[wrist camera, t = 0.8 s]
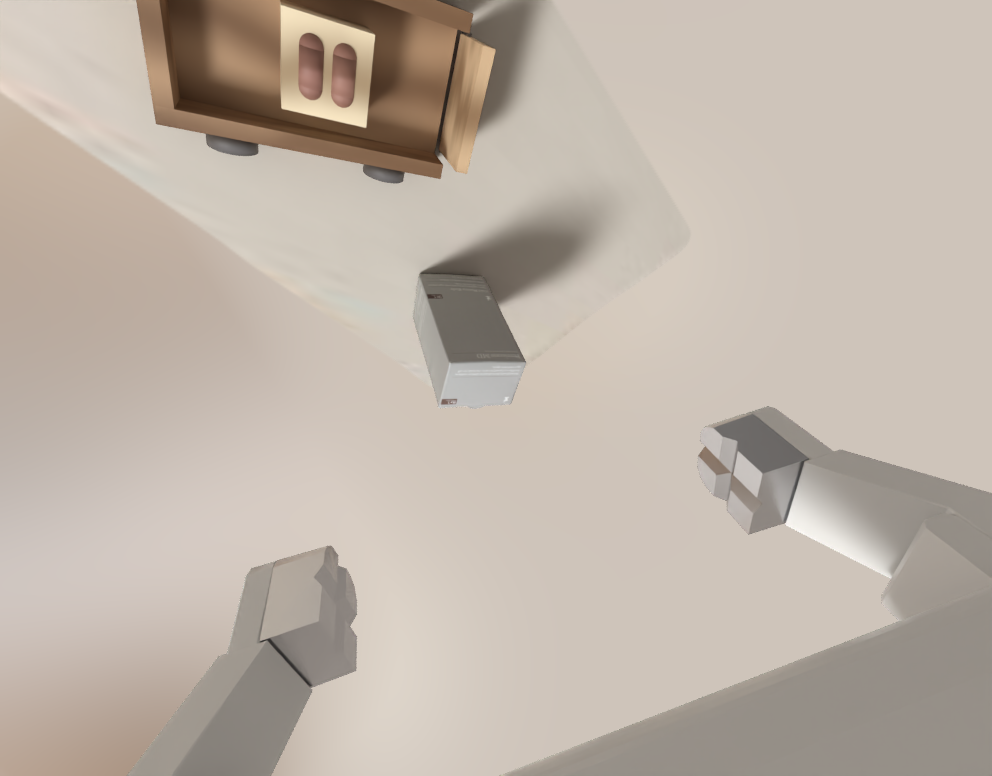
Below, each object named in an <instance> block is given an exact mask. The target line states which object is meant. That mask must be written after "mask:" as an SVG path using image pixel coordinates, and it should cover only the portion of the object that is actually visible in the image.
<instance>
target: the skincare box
mask: <svg viewBox="0 0 992 776" xmlns="http://www.w3.org/2000/svg"><path fill="white" fill-rule="evenodd" d="M413 319H414V323H415V327H416V330H417V333H418V337H419V340H420V344H421V347H422V350H423V354H424V357H425V361H426V364H427V368H428V371H429V374H430V378H431V381H432V385H433V388H434V392H435V396H436V399H437V403H438V407H439V408H448V407H469V408H474V409H476V408H481V407H483V406H490V405H510V404H511V403H512V400H513V397H514V394H515V392H516V389H517V386H518V383H519V380H520V378H521V376H522V373H523V370H524V368H525V365H526V361H525V359H524V357H523V355H522V353H521V351H520V349H519V347H518V345H517V343H516V341H515V339H514V337H513V335H512V333H511V331H510V329H509V327H508V325H507V323H506V321H505V319H504V317H503V315H502V313H501V311H500V309H499V306H498V304H497V302H496V300H495V298H494V296H493V294H492V292H491V290H490V288H489V286H488V284H487V282H486V280H485V278H484V277H482V276H466V275H451V274H419V277H418V284H417V292H416V299H415V305H414V313H413Z"/></svg>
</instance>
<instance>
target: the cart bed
mask: <svg viewBox="0 0 992 776" xmlns="http://www.w3.org/2000/svg"><path fill="white" fill-rule="evenodd" d="M286 1H289V2H292V3H295V4H298V5H301V6H304V7H307V8H311V9H314V10H317V11H320V12H323V13H326V14H329V15H332V16H335V17H339V18H342V19H345V20H348V21H351V22H354V23H357V24H360V25H363V26H366V27H368V28H369V29H370V30H371V31H372V32H373V33H374V34H375V42H374V52H373V63H372V73H371V83H370V94H369V104H368V114H367V125H366V128H364V127H360V126H355V125H351V124H347V123H342V122H338V121H333V120H329V119H325V118H320V117H316V116H311V115H307V114H303V113H298V112H294V111H289V110H285V109H282V108H281V81H280V0H136V2H137V8H138V14H139V20H140V27H141V33H142V39H143V45H144V52H145V58H146V64H147V70H148V76H149V83H150V89H151V95H152V101H153V108H154V114H155V120H156V124H158V125H164V126H169V127H174V128H179V129H184V130H190V131H195V132H200V133H205V134H206V141H207V145H208V146H209V147H211V148H212V149H215V150H217V151H220V152H223V153H227V154H232V155H238V156H252V155H256V154H258V144H262V145H267V146H272V147H278V148H283V149H288V150H293V151H298V152H303V153H309V154H314V155H319V156H324V157H329V158H335V159H340V160H345V161H350V162H355V163H360V164H364V167H363V172H364V173H365V174H366V175H367V176H369V177H371V178H373V179H376V180H379V181H383V182H387V183H401V182H403V178H404V172H407V173H412V174H417V175H423V176H428V177H433V178H438V179H440V178H441V173H442V168H443V164H442V163H441V162H440V160H439V159H438V158H437V156H436V155H435V154H434V153H435V147H436V142H437V137H438V131H439V126H440V121H441V115H442V110H443V104H444V99H445V94H446V88H447V83H448V78H449V72H450V67H451V61H452V56H453V51H454V45H455V40H456V35H457V30H460V31H463V32H466V33H470V28H471V23H472V18H473V14H472V13H469V12H467V11H464V10H462V9H459V8H457V7H454V6H452V5H449V4H446V3H443V2H441V1H438V0H286Z"/></svg>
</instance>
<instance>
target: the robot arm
mask: <svg viewBox="0 0 992 776" xmlns="http://www.w3.org/2000/svg"><path fill="white" fill-rule="evenodd" d="M700 441H701V442H702V443H703V444H704V445H705V447H704V448H703V450H702V451H701V452H700V454H699V455H698V466H697V467H698V470H699V474H700V477H701V479H702V481H703V482H704V484H705V486H706V487H707V489H708V490H709V491H710V492H711V493H712V494H713V495H714V496H716V497H718V498H721V499H723V500H725V501H727V511H728V512H729V513H730V515H731V516H732V517H733V518H734V519H735V520H736V521H737V522H738V524H740V526H741V527H742V528H743V529H744V530H745V531H746V532H747V533H748V534H752V533H755V532H758V531H761V530H764V529H767V528H771V527H774V526H777V525H780V524H784V523H786V524H785V525H787V526H788V527H790V528H792V529H794V530H796V531H798V532H800V533H802V534H804V535H806V536H808V537H810V538H812V539H814V540H816V541H818V542H820V543H822V544H823V545H825V546H827V547H829V548H831V549H833V550H835V551H837V552H839V553H841V554H843V555H845V556H847V557H849V558H851V559H853V560H855V561H857V562H859V563H861V564H863V565H865V566H867V567H869V568H870V569H872V570H874V571H876V572H878V573H880V574H882V575H884V576H886V577H888V578H890V579H891V580H890V581H889V583H888V585H887V587H886V589H885V590H884V592H883V594H882V597H881V604H882V605H883V606H884V607H885V608H886V609H887V610H888V611H889V612H890V613H891V614H892V615H893V616H895V617H896V619H897V620H899V622H896V623H893V624H891V625H888V626H886V627H883V628H881V629H878V630H875V631H873V632H870V633H868V634H865V635H862V636H860V637H857V638H855V639H852V640H849V641H847V642H844V643H842V644H839V645H837V646H834V647H831V648H829V649H826V650H824V651H821V652H818V653H816V654H813V655H811V656H808V657H805V658H803V659H800V660H798V661H795V662H793V663H790V664H788V665H785V666H782V667H780V668H777V669H774V670H772V671H769V672H767V673H764V674H761V675H759V676H757V677H754V678H751V679H749V680H746V681H743V682H741V683H738V684H736V685H733V686H730V687H728V688H725V689H723V690H720V691H718V692H715V693H713V694H710V695H707V696H705V697H702V698H699V699H697V700H694V701H692V702H689V703H687V704H684V705H681V706H679V707H676V708H674V709H671V710H669V711H666V712H663V713H661V714H658V715H655V716H653V717H650V718H648V719H645V720H643V721H640V722H638V723H635V724H632V725H630V726H627V727H624V728H622V729H619V730H617V731H614V732H611V733H609V734H606V735H604V736H601V737H599V738H596V739H593V740H591V741H588V742H586V743H583V744H581V745H578V746H575V747H573V748H570V749H568V750H565V751H562V752H560V753H557V754H555V755H552V756H549V757H547V758H544V759H542V760H539V761H537V762H534V763H532V764H529V765H526V766H524V767H521V768H519V769H516V770H513V771H511V772H508V773H505V774H503V775H500V776H992V493H989V492H986V491H982V490H978V489H975V488H972V487H968V486H965V485H961V484H958V483H955V482H951V481H947V480H944V479H940V478H937V477H933V476H930V475H927V474H923V473H920V472H916V471H913V470H910V469H906V468H902V467H899V466H896V465H892V464H889V463H885V462H882V461H878V460H875V459H871V458H868V457H865V456H861V455H858V454H854V453H851V452H847V451H844V450H838V451H832V450H831V449H830V448H828V447H827V446H826V445H824V444H823V443H822V442H820V441H819V440H818V439H816V438H815V437H814V436H812V435H811V434H809V433H808V432H807V431H805V430H804V429H803V428H801V427H800V426H798V425H797V424H796V423H794V422H793V421H792V420H791V419H789V418H788V417H786V416H785V415H784V414H782V413H781V412H780V411H778V410H777V409H775V408H772V407H769V406H767V407H764V408H761V409H758V410H755V411H752V412H749V413H746V414H742V415H739V416H736V417H733V418H730V419H727V420H724V421H721V422H717V423H715V424H712V425H708V426H705V427H704V429H703V430H702V431H701V436H700ZM356 615H357V600H356V594H355V588H354V584H353V581H352V579H351V576H350V574H349V573H348V571H347V569H345V568H343V567H340V566H338V554H337V553H336V552H335V550H334V549H333V547H332V546H326V547H322V548H319V549H315V550H312V551H308V552H305V553H301V554H298V555H294V556H291V557H288V558H284V559H281V560H277V561H275V562H271V563H268V564H265V565H262V566H258V567H254V568H252V569H251V570H250V571H249V573H248V574H247V576H246V578H245V582H244V586H243V590H242V594H241V598H240V602H239V606H238V610H237V615H236V619H235V623H234V627H233V631H232V635H231V639H230V643H229V647H228V651H227V654H224V655H221V656H219V657H218V658H217V659H216V660H215V662H214V663H213V665H212V666H211V667H210V668H209V670H208V671H207V672H206V673H205V675H204V676H203V677H202V679H201V680H200V681H199V683H198V684H197V685H196V686H195V688H194V689H193V690H192V692H191V693H190V694H189V696H188V697H187V698H186V699H185V701H184V702H183V703H182V705H181V706H180V707H179V709H178V710H177V711H176V712H175V714H174V715H173V716H172V718H171V719H170V720H169V722H168V723H167V724H166V725H165V727H164V728H163V729H162V731H161V732H160V733H159V735H158V736H157V737H156V738H155V740H154V741H153V742H152V744H151V745H150V746H149V748H148V749H147V750H146V751H145V753H144V754H143V755H142V757H141V758H140V759H139V761H138V762H137V763H136V764H135V766H134V767H133V768H132V770H131V771H130V772H129V774H128V775H127V776H271V775H272V773H273V771H274V769H275V767H276V765H277V762H278V760H279V758H280V756H281V754H282V752H283V750H284V748H285V746H286V744H287V742H288V739H289V738H290V736H291V734H292V731H293V730H294V727H295V725H296V723H297V721H298V719H299V717H300V715H301V713H302V711H303V709H304V707H305V705H306V703H307V701H308V699H309V697H310V695H311V693H312V689H311V688H312V687H315V686H317V685H320V684H323V683H325V682H328V681H331V680H333V679H336V678H339V677H341V676H344V675H347V674H349V673H352V672H354V671H356V647H357V641H356V640H357V636H356V635H355V633H354V632H353V630H352V629H351V627H350V625H351V624H352V622H353V620H354V619H355V617H356Z"/></svg>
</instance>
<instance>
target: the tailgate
mask: <svg viewBox="0 0 992 776" xmlns="http://www.w3.org/2000/svg"><path fill="white" fill-rule="evenodd" d="M471 35H472V34H471V33H466V32H463V31H462V34H461V35H460V40H459V45H458V51H457V56H456V61H455V66H454V71H453V77H452V82H451V87H450V92H449V98H448V103H447V108H446V113H445V119H444V124H443V129H442V134H441V140H440V145H439V152H440V153H442V154H443V155H444V157H445V158H446V159H447V161H448V162H449V163H450V164H451V166H452V167H453V168H454V170H455V171H456V172H461V173H465V174H467V171H468V167H469V162H470V158H471V154H472V150H473V145H474V141H475V137H476V132H477V128H478V124H479V120H480V115H481V111H482V107H483V102H484V98H485V94H486V90H487V85H488V81H489V77H490V73H491V68H492V64H493V60H494V55H495V51H496V49H494V48H492V47H490V46H488V45H486V44H484V43H482V42H480V41H478V40H476V39H474V38H473V37H471Z"/></svg>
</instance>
